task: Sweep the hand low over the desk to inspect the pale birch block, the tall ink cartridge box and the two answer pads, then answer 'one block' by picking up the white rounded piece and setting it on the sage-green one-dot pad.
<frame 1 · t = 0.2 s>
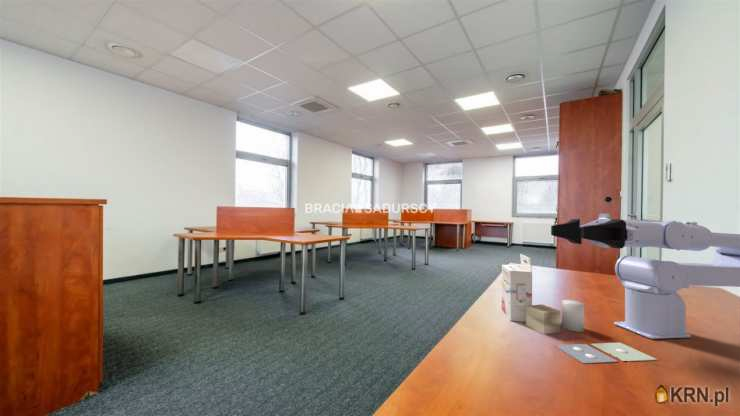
hand: (566, 231, 60), 21 cm above the table, tool horizontal, fingers open, 7 cm apart
ink cartridge box: (515, 316, 70), on the table
birch block: (542, 329, 62), on the table
pad one: (621, 351, 52), on the table
white rounded piece: (572, 327, 63), on the table
pad two: (584, 353, 51), on the table
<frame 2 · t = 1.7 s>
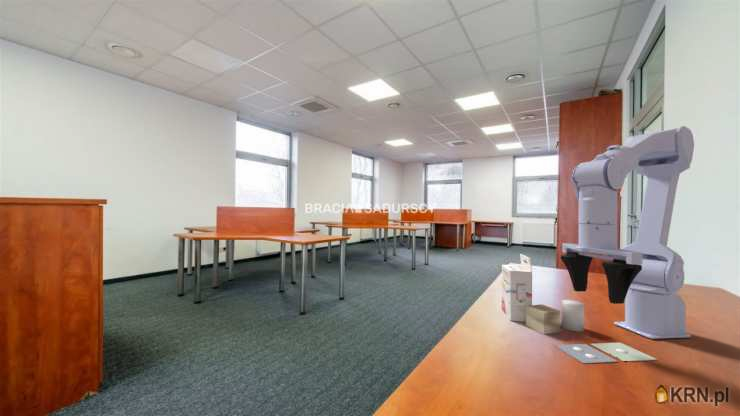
hand: (597, 296, 54), 9 cm above the table, tool pointing down, fingers open, 7 cm apart
nothing on the table moved.
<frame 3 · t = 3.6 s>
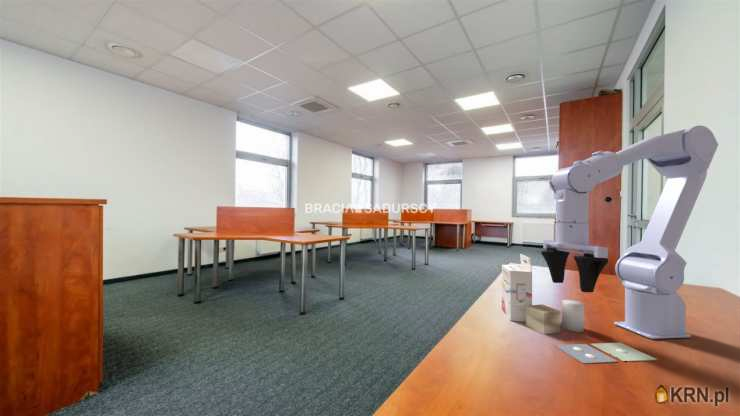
hand: (571, 287, 61), 9 cm above the table, tool pointing down, fingers open, 7 cm apart
nothing on the table moved.
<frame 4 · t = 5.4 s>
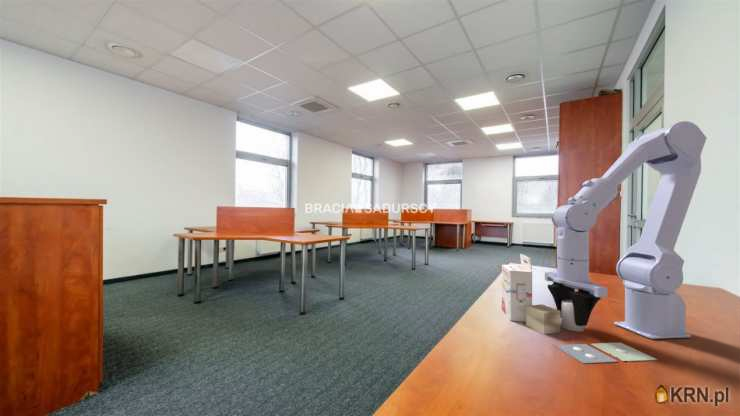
hand: (572, 321, 63), 1 cm above the table, tool pointing down, fingers closed on white rounded piece, 4 cm apart
white rounded piece: (572, 327, 63), on the table, touching gripper
everything else where it was.
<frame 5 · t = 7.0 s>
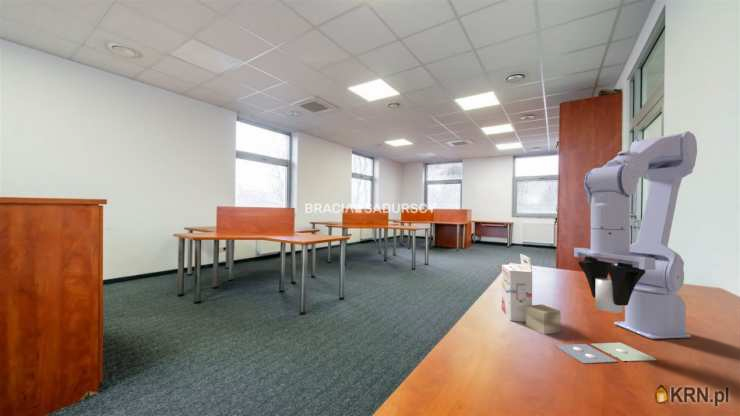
hand: (609, 300, 54), 8 cm above the table, tool pointing down, fingers closed on white rounded piece, 4 cm apart
white rounded piece: (608, 309, 54), point 7 cm above the table, touching gripper
everything else where it was.
when the fingers open (3 cm above the table, at t = 8.6 s): white rounded piece drops 1 cm, resting on pad one.
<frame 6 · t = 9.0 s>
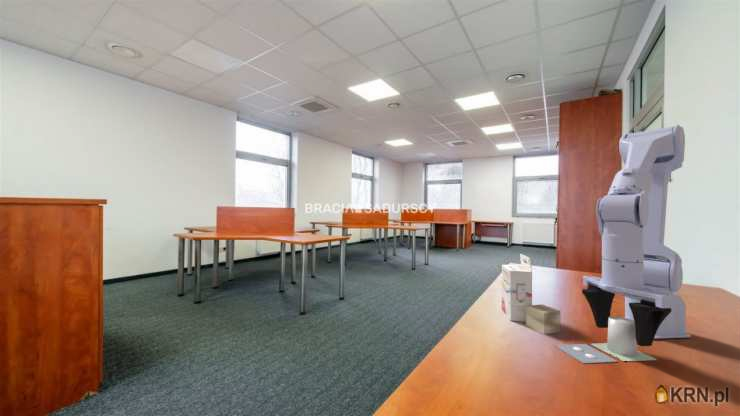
hand: (621, 335, 52), 3 cm above the table, tool pointing down, fingers open, 7 cm apart
white rounded piece: (621, 350, 52), resting on pad one
everything else where it was.
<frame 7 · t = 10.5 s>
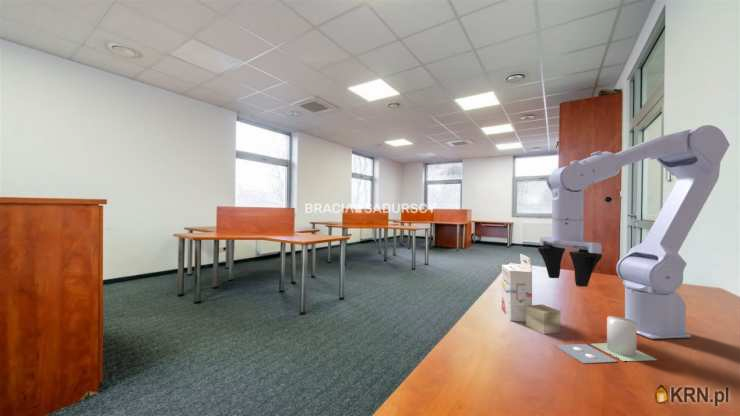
hand: (567, 281, 63), 10 cm above the table, tool pointing down, fingers open, 7 cm apart
nothing on the table moved.
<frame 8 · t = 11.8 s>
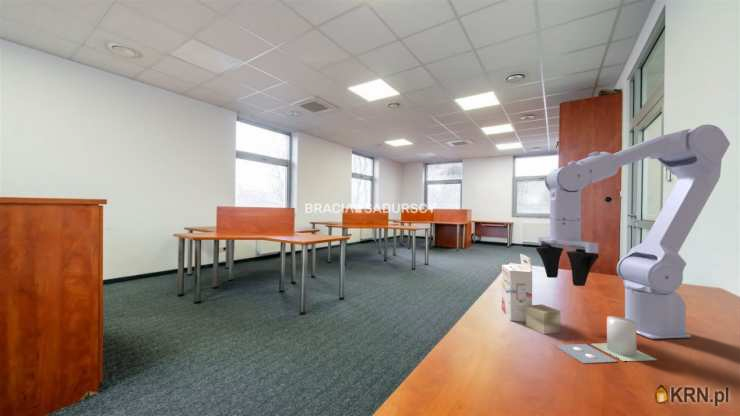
hand: (564, 281, 64), 10 cm above the table, tool pointing down, fingers open, 7 cm apart
nothing on the table moved.
at the end: white rounded piece inside the target area (0.1 cm from its centre), resting on pad one; white rounded piece tilted 0°; the gripper is holding nothing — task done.
